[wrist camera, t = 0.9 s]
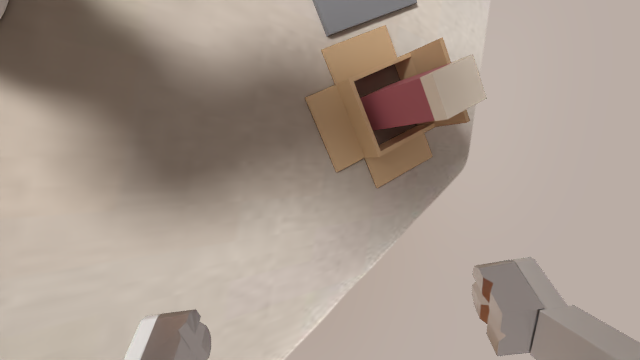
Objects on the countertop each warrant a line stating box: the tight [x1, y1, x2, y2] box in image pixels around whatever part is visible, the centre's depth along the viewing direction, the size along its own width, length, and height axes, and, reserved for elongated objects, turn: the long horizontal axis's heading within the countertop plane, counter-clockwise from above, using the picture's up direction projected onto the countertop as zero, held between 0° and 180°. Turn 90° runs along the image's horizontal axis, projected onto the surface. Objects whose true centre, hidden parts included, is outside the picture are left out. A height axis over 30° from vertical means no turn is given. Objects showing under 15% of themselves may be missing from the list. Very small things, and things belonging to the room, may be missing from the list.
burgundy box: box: [360, 55, 486, 131], centre depth 47 cm, size 5×6×16 cm
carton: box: [305, 25, 470, 188], centre depth 49 cm, size 21×16×10 cm
